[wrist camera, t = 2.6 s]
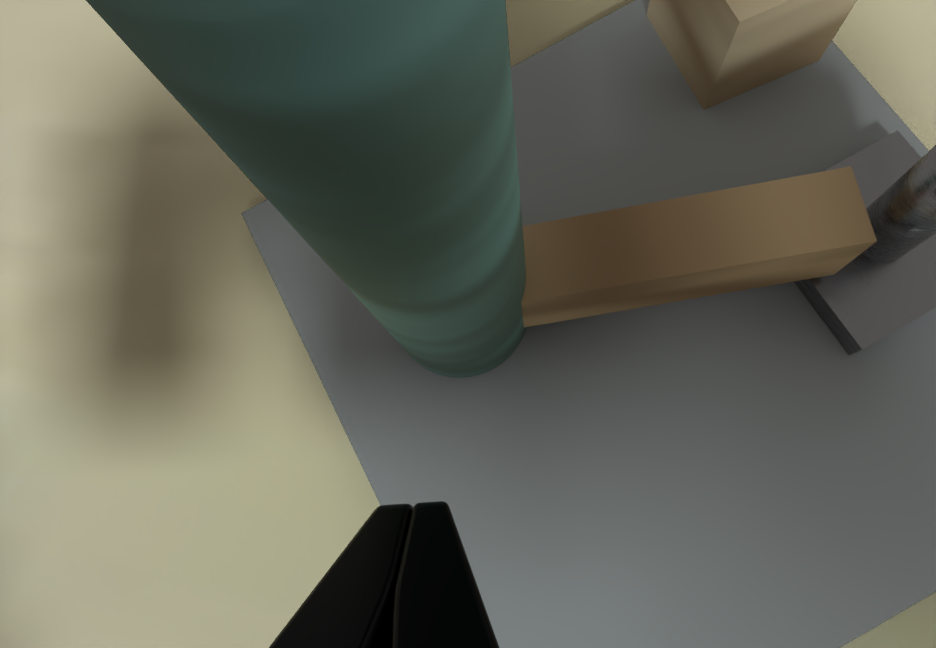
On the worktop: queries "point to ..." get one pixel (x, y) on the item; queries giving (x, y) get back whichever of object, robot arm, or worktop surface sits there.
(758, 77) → the block
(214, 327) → the worktop surface
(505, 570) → the yard mat
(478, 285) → the gate
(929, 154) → the post on square base
